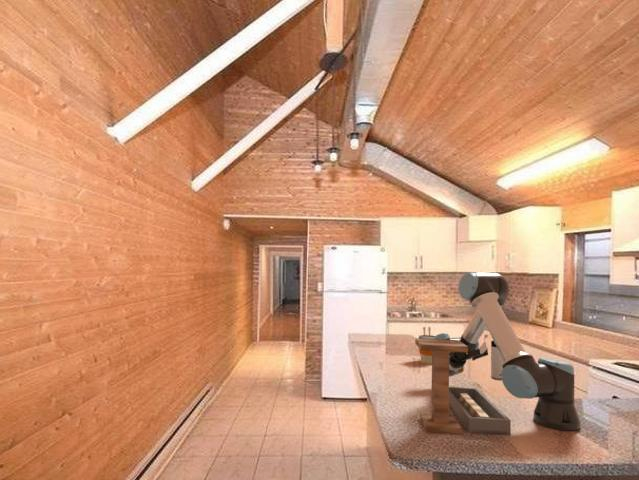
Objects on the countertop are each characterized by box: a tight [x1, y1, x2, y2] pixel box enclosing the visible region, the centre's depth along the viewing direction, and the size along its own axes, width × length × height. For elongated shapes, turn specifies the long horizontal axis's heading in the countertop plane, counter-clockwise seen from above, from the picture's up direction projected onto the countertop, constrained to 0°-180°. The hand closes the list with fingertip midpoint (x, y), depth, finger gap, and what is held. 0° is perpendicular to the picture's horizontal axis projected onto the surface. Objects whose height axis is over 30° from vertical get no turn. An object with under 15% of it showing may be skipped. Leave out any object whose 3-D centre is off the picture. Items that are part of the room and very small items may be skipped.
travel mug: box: [490, 340, 504, 381], centre depth 205 cm, size 6×7×20 cm
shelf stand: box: [414, 337, 468, 435], centre depth 143 cm, size 12×16×30 cm
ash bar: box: [459, 393, 489, 418], centre depth 155 cm, size 26×3×3 cm, turn 177°
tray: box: [449, 386, 512, 436], centre depth 154 cm, size 35×14×5 cm, turn 176°
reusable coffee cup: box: [418, 334, 436, 365], centre depth 237 cm, size 13×13×15 cm
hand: (468, 345), depth 162 cm, fingers open, 13 cm apart
